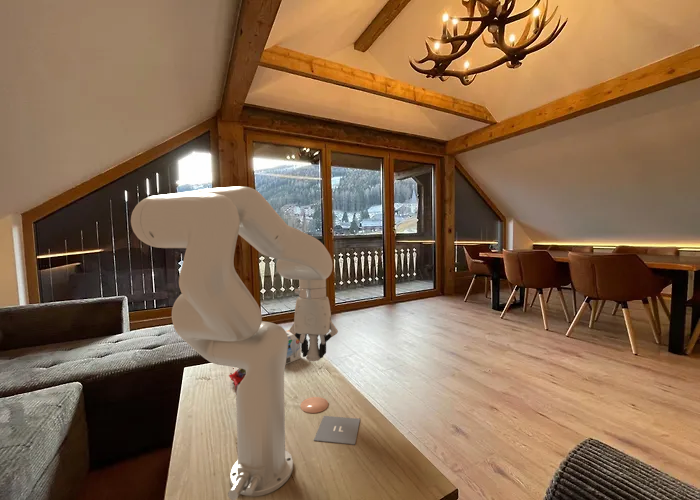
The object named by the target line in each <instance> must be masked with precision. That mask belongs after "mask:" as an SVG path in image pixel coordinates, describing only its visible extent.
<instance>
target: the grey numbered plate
mask: <svg viewBox="0 0 700 500" xmlns="http://www.w3.org/2000/svg"><path fill="white" fill-rule="evenodd" d="M360 422H361V418H356V417H346V416H345V417H344V416H333V415H332V416H330V415H323V418H322V419H321V422H320V424H319V426H318V429H317V431H316V434H315V436H314V439H313V441H314V442H325V443H335V444H342V445H343V444H344V445H352V446H353V445H354V446H355V445H356V442H357V436H358V433H359V428H360V427H359V426H360Z"/></svg>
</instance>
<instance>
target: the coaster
mask: <svg viewBox="0 0 700 500" xmlns="http://www.w3.org/2000/svg"><path fill="white" fill-rule="evenodd" d="M328 407H329V402H328V400H327V399H326V398H323V397H321V396H311V397H308V398H306V399H304V400H303V401H301V403H300V409H301V410H302V411H303V412H304V413H307V414H318V413H321V412H323V411H325V410H326V409H328Z"/></svg>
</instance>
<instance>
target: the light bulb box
mask: <svg viewBox="0 0 700 500" xmlns="http://www.w3.org/2000/svg"><path fill="white" fill-rule="evenodd" d="M289 330H290V328H289V329H286V330H285V331H286V333H287V336H288V350H287V356H286V363H285V366H286V365H287V364H290V363H292V362H295V361H297V360H299V359H301V358H302V353H301V343H300V341H299V340H298V339H297V338H296V337H295V335H293V334H292V333H291V332H290V331H289Z"/></svg>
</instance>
